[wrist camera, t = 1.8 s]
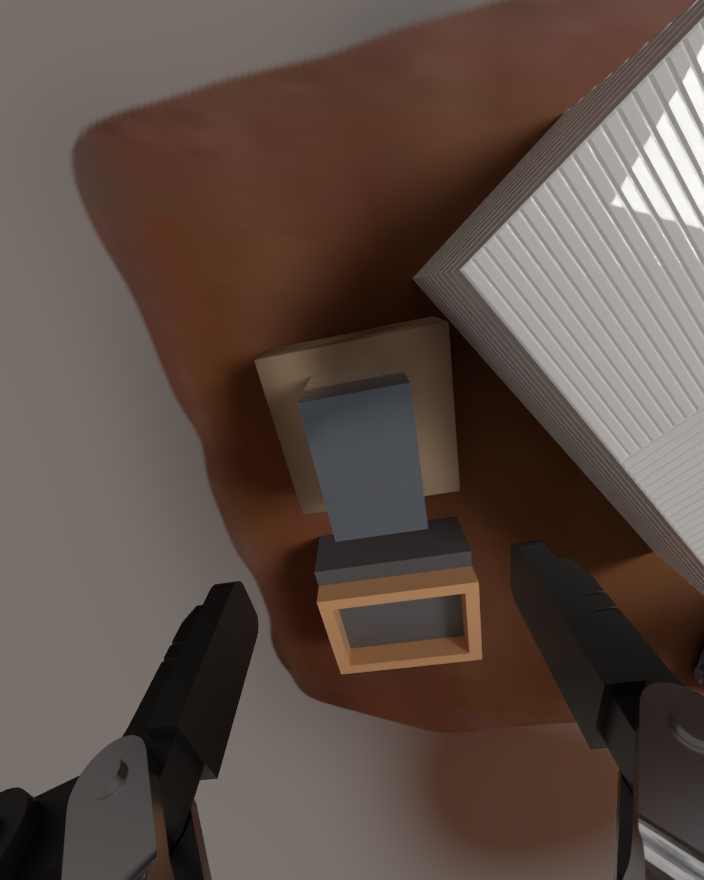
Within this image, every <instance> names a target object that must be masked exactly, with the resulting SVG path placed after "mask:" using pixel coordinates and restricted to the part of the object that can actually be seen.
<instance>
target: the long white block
mask: <svg viewBox="0 0 704 880" xmlns="http://www.w3.org/2000/svg"><path fill="white" fill-rule="evenodd" d="M412 280H413V281H414V282H415V283H416V284H417V285H418V286H419V287H420V289H421V290H422V291H423V292H424V293H425V294H426V295H427V296H428V298H429V299H430V300H431V301H432V302H433V303H434V304H435V306H436V307H437V308H438V309H439V310H440V311H441V312H442V313H443V315H444V316H445V317H446V318H447V319H448V320H449V321H450V322H451V324H452V325H453V326H454V327H455V328H456V329H457V330H458V331H459V333H460V334H461V335H462V336H463V337H464V338H465V339H466V341H467V342H468V343H469V344H470V345H471V346H472V347H473V348H474V350H475V351H476V352H477V353H478V354H479V355H480V356H481V357H482V359H483V360H484V361H485V362H486V363H487V364H488V365H489V367H490V368H491V369H492V370H493V371H494V372H495V373H496V374H497V376H498V377H499V378H500V379H501V380H502V381H503V382H504V383H505V385H506V386H507V387H508V388H509V389H510V390H511V391H512V392H513V394H514V395H515V396H516V397H517V398H518V399H519V400H520V402H521V403H522V404H523V405H524V406H525V407H526V408H527V409H528V411H529V412H530V413H531V414H532V415H533V416H534V417H535V418H536V420H537V421H538V422H539V423H540V424H541V425H542V426H543V428H544V429H545V430H546V431H547V432H548V433H549V434H550V435H551V437H552V438H553V439H554V440H555V441H556V442H557V443H558V444H559V446H560V447H561V448H562V449H563V450H564V451H565V452H566V453H567V455H568V456H569V457H570V458H571V459H572V460H573V461H574V463H575V464H576V465H577V466H578V467H579V468H580V469H581V470H582V472H583V473H584V474H585V475H586V476H587V477H588V478H589V479H590V481H591V482H592V483H593V484H594V485H595V486H596V487H597V488H598V490H599V491H600V492H601V493H602V494H603V495H604V496H605V498H606V499H607V500H608V501H609V502H610V503H611V504H612V505H613V507H614V508H615V509H616V510H617V511H618V512H619V513H620V514H621V516H622V517H623V518H624V519H625V520H626V521H627V522H628V524H629V525H630V526H631V527H632V528H633V529H634V530H635V531H636V533H637V534H638V535H639V536H640V537H641V538H642V539H643V540H644V542H645V543H646V544H647V545H648V546H649V547H650V548H651V549H652V551H653V552H654V553H655V554H657V555H658V556H659V557H660V558H661V559H662V560H663V561H664V562H666V563H667V564H668V565H669V566H671V568H672V569H674V570H675V571H676V572H677V573H678V574H679V575H681V576H682V577H683V578H684V579H685V580H686V581H687V582H688V583H689V584H691V585H692V586H693V587H694V588H695V589H696V590H697V591H698V592H700V593H701V594H703V596H704V0H696V1H695V2H694V3H693V4H692V5H691V6H689V7H688V8H687V9H686V10H685V11H684V12H682V13H681V14H680V15H679V16H678V17H677V18H676V19H675V20H674V21H673V22H672V23H669V24H668V25H667V26H666V27H665V28H664V29H662V30H661V31H660V32H659V33H658V34H656V35H655V36H654V37H653V38H652V39H651V40H650V41H649V42H647V43H646V44H645V45H643V46H642V47H641V48H640V49H639V50H638V51H636V52H635V53H634V54H633V55H632V56H631V57H630V58H628V59H627V60H626V61H625V62H623V63H622V64H621V65H620V66H619V67H618V68H616V69H615V70H614V71H613V73H611V74H609V75H608V76H607V77H606V78H605V79H603V80H602V81H601V82H600V83H599V84H598V85H597V86H595V87H594V88H593V89H592V90H590V91H589V92H588V93H587V94H586V95H585V96H584V97H582V98H581V99H580V100H579V101H578V102H576V103H575V104H574V105H573V106H572V107H570V108H569V109H568V110H567V111H566V112H565V113H563V114H562V116H561V117H560V118H559V119H558V120H557V121H556V122H555V123H554V124H553V125H552V126H551V128H550V129H549V130H548V131H547V132H546V133H545V134H544V135H543V136H542V137H541V138H540V140H539V141H538V142H537V143H536V144H535V145H534V146H533V147H532V148H531V149H530V150H529V152H528V153H527V154H526V155H525V156H524V157H523V158H522V159H521V160H520V161H519V162H518V164H517V165H516V166H515V167H514V168H513V169H512V170H511V171H510V172H509V173H508V174H507V176H506V177H505V178H504V179H503V180H502V181H501V182H500V183H499V184H498V185H497V186H496V187H495V189H494V190H493V191H492V192H491V193H490V194H489V195H488V196H487V197H486V198H485V199H484V201H483V202H482V203H481V204H480V205H479V206H478V207H477V208H476V209H475V210H474V211H473V213H472V214H471V215H470V216H469V217H468V218H467V219H466V220H465V221H464V222H463V223H462V225H461V226H460V227H459V228H458V229H457V230H456V231H455V232H454V233H453V234H452V235H451V237H450V238H449V239H448V240H447V241H446V242H445V243H444V244H443V245H442V246H441V247H440V249H439V250H438V251H437V252H436V253H435V254H434V255H433V256H432V257H431V258H430V259H429V261H428V262H427V263H426V264H425V265H424V266H423V267H422V268H421V269H420V270H419V271H418V273H417V274H416V275H415V276H414V277H413V278H412Z"/></svg>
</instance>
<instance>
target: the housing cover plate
mask: <svg viewBox="0 0 704 880" xmlns="http://www.w3.org/2000/svg"><path fill="white" fill-rule="evenodd" d="M297 404H298V408H299V411H300V415H301V419H302V422H303V426H304V430H305V433H306V437H307V440H308V444H309V448H310V451H311V455H312V459H313V462H314V466H315V469H316V473H317V477H318V480H319V484H320V488H321V491H322V495H323V498H324V502H325V506H326V509H327V513H328V517H329V520H330V524H331V527H332V531H333V535H334V538H335V542H339V541H346V540H353V539H360V538H367V537H374V536H381V535H388V534H395V533H402V532H409V531H416V530H423V529H428V524H427V515H426V507H425V499H424V491H423V483H422V475H421V467H420V459H419V451H418V443H417V434H416V426H415V418H414V410H413V402H412V394H411V386H410V381H409V380H408V378H407V376H406V374H405V373H404V372H400V373H395V374H390V375H384V376H379V377H374V378H368V379H363V380H358V381H352V382H347V383H342V384H336V385H331V386H326V387H320V388H315V389H310V390H305V391H303V393H302V395H301V397H300V399H299V401H298V403H297Z"/></svg>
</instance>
